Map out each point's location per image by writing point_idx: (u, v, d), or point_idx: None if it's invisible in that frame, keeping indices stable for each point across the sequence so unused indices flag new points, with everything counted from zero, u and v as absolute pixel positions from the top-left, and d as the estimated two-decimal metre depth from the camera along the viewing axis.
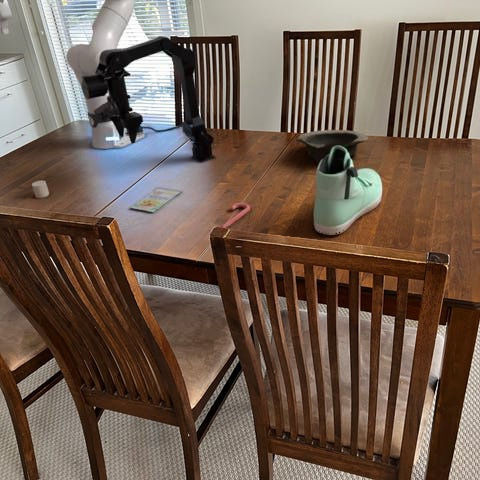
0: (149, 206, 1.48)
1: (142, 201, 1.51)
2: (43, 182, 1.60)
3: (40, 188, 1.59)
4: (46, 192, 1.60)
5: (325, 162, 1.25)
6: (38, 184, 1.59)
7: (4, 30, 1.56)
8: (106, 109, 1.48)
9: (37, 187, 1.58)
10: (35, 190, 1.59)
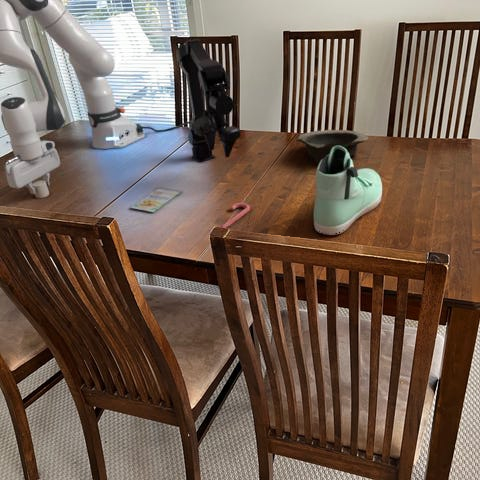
0: (149, 206, 1.48)
1: (142, 201, 1.51)
2: (43, 182, 1.60)
3: (40, 188, 1.59)
4: (46, 192, 1.60)
5: (325, 162, 1.25)
6: (38, 184, 1.59)
7: (30, 190, 1.58)
8: (206, 124, 1.46)
9: (37, 187, 1.58)
10: None
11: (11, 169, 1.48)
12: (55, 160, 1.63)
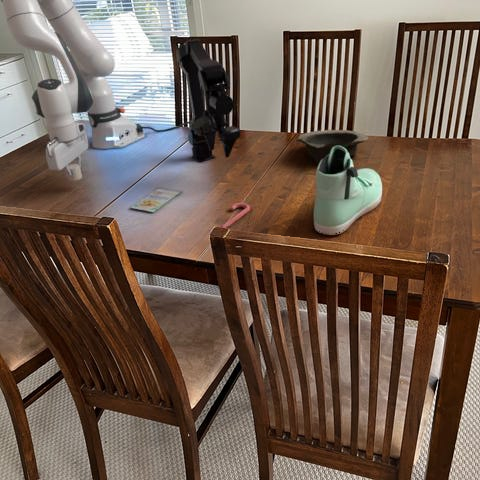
0: (149, 206, 1.48)
1: (142, 201, 1.51)
2: (76, 165, 1.60)
3: (75, 171, 1.59)
4: (80, 175, 1.61)
5: (325, 162, 1.25)
6: (72, 167, 1.59)
7: (66, 173, 1.58)
8: (206, 124, 1.46)
9: (72, 170, 1.58)
10: None
11: (53, 150, 1.47)
12: (84, 143, 1.63)
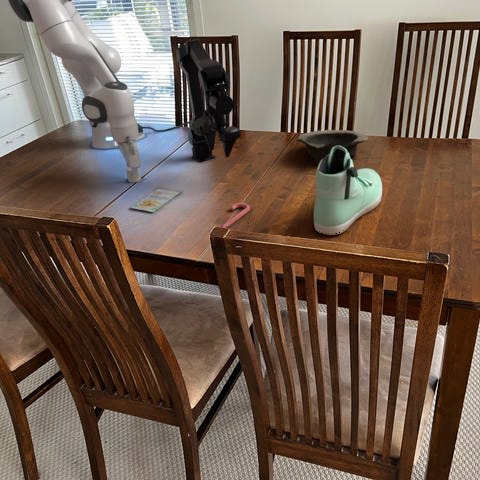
0: (149, 206, 1.48)
1: (142, 201, 1.51)
2: None
3: (138, 171, 1.65)
4: None
5: (325, 162, 1.25)
6: None
7: (134, 173, 1.61)
8: (206, 124, 1.46)
9: None
10: None
11: (135, 148, 1.53)
12: None
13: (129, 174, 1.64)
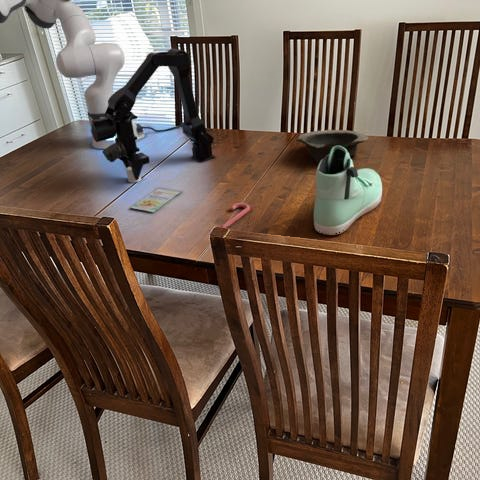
0: (149, 206, 1.48)
1: (142, 201, 1.51)
2: None
3: None
4: None
5: (325, 162, 1.25)
6: None
7: None
8: (114, 151, 1.55)
9: None
10: None
11: None
12: None
13: (129, 174, 1.64)
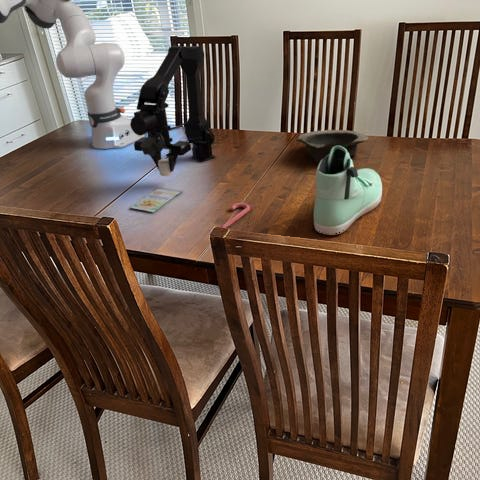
0: (149, 206, 1.48)
1: (142, 201, 1.51)
2: (165, 159, 1.59)
3: None
4: None
5: (325, 162, 1.25)
6: (167, 160, 1.58)
7: None
8: (160, 142, 1.47)
9: None
10: (169, 166, 1.58)
11: None
12: None
13: (164, 167, 1.57)
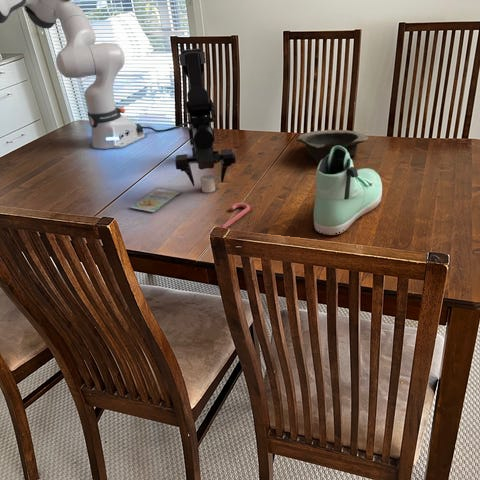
0: (149, 206, 1.48)
1: (142, 201, 1.51)
2: (204, 175, 1.55)
3: None
4: None
5: (325, 162, 1.25)
6: (210, 176, 1.55)
7: None
8: None
9: None
10: (214, 181, 1.55)
11: None
12: None
13: (211, 183, 1.54)
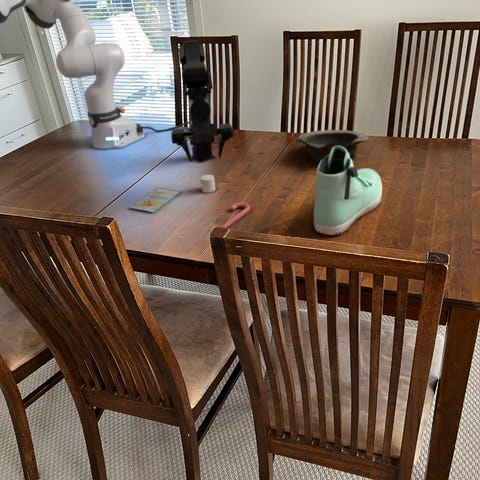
0: (149, 206, 1.48)
1: (142, 201, 1.51)
2: (204, 175, 1.55)
3: None
4: None
5: (325, 162, 1.25)
6: (210, 176, 1.55)
7: None
8: (216, 125, 1.40)
9: None
10: (214, 181, 1.55)
11: None
12: None
13: (211, 183, 1.54)
